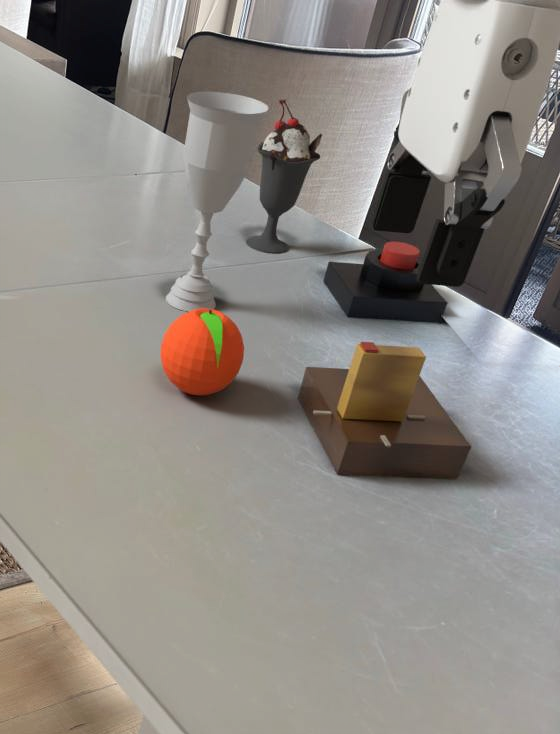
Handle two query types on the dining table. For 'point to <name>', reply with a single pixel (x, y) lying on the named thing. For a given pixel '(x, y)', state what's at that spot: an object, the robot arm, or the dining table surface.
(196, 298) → the chalice
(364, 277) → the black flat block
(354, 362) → the thumbturn
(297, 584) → the dining table surface
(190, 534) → the dining table surface
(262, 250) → the sundae
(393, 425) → the plate
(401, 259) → the bell button
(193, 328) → the clementine
